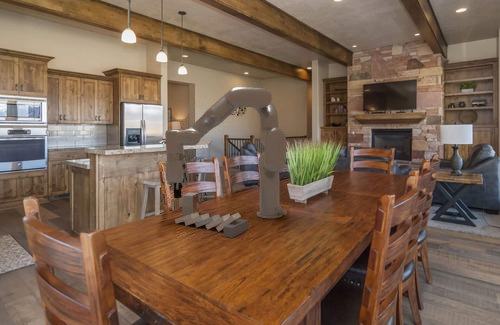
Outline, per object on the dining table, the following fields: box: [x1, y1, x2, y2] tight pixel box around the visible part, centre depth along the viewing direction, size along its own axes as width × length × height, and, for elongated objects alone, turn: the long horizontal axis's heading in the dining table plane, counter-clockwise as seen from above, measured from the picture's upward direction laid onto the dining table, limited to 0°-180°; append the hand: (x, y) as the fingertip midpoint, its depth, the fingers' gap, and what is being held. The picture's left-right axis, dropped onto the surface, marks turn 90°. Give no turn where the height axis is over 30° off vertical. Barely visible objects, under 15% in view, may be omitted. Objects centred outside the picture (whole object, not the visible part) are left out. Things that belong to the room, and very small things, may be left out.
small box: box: [181, 192, 200, 217], centre depth 151 cm, size 8×6×10 cm
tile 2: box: [183, 212, 210, 226], centre depth 134 cm, size 2×5×10 cm
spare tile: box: [194, 213, 221, 228], centre depth 132 cm, size 2×5×10 cm
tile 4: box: [205, 213, 231, 230], centre depth 129 cm, size 2×5×10 cm
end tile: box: [174, 212, 200, 224], centre depth 137 cm, size 2×5×10 cm
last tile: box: [215, 212, 242, 233], centre depth 126 cm, size 2×5×10 cm
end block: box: [223, 218, 249, 239], centre depth 124 cm, size 4×12×4 cm, turn 150°
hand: (177, 197), depth 140 cm, fingers closed
